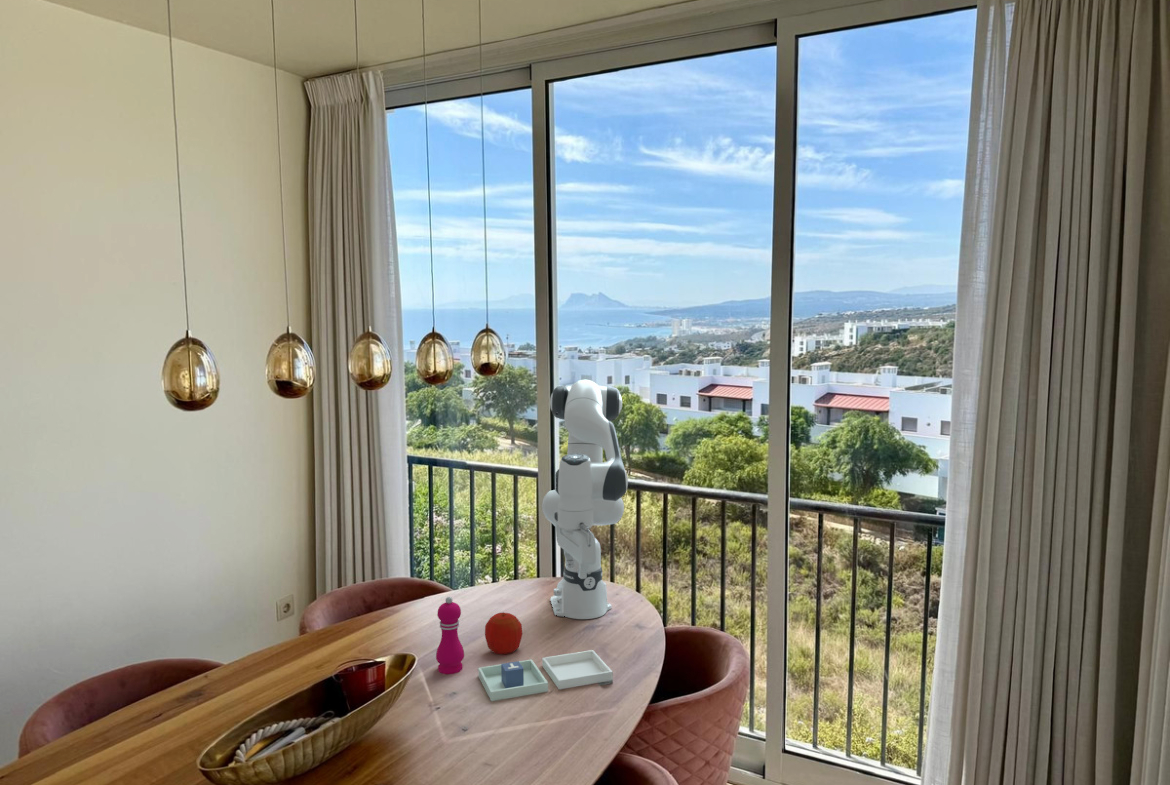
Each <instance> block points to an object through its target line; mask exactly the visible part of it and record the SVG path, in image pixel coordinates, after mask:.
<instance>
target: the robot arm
mask: <svg viewBox="0 0 1170 785" xmlns="http://www.w3.org/2000/svg"><path fill="white" fill-rule="evenodd" d="M549 407H550V410H551V413H552V415H553V416H554V418H556V419H560V420H564V426H565V429H566V430H567V432H568V438H567V454H566V455H563V456H562V457H561V458H560V462H559V468H558V469H557V471H556V472H555V475H554V476H555V489H553V490H549V491H547V492H546V494H544V496H543V499H542V503H541V509H542V514H543V515H544V517H545V520H547V521H548V522H550V523H551V524H552V525H553V527H555V535H556V536H555V537H556V542H557V545H558V547H560V548H561V549H562V550H563V555H564V558H565V566H564V569H563V576H562V579H561V580H560V581H559V582H558V583H557V585H556V588H553V596H551V597H550V598H549V602H550V601H551V602H550V604H552V605H551V608H552V607H553V608H552V610H553V614H554V616H556V615H557V617H564V616H565V617H564V618H569V619H573V620H574V619H575V620H589V619H592V620H593V619H596V618H600V617H602V616H604V615H605V614H606V613H607V612H608V611H609V610H611V609H612V604H611V603H609V602H608V591H607V583H606V582H605V581H603V574H604V573H603V567H602V566H601V562H602V555H601V553H602V552H601V544H600V542H599V540H598V539H597V538H596V537H595V535H594V533H593V532H592V531H591V528H592V527H593V526H608V525H615V524H617V523H618V522H619V521H620V520H621V519H622V517H623V516H624V512H625V504H624V500H623V497H624V495H626V494H627V490H628V485H629V482H628V481H629V479H628V474H627V471H626V469H625V466H624V463H623V462H624V461H623V458H622V454H621V449H620V443H619V439H618V435H617V431H616V428H615V426H614V423H613V422H612V421H615V420H616V419H617V418H618V417H619V416H620V413H621V411H622V408H623V399H622V395H621V393H620V390H619V389H618V388H616V387H614V386H610V385H609V386H608V385H607V386H604V385H598V384H597V383H596V382H594V381H593V380H591V379H579V380H577V381H576V382H574V383H573V384H572V385H566V384H563V385H559V386H556V387H555V388H554V389H553V390H552V393H551V395H550V398H549ZM603 451H604V453H605V454H604V453H603ZM603 454H604V455H605V458H606V461H604V460H603V456H604V455H603ZM603 461H604V462H603Z"/></svg>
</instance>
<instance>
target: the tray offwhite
mask: <svg viewBox="0 0 1170 785" xmlns="http://www.w3.org/2000/svg"><path fill="white" fill-rule="evenodd" d="M541 659H542V660H541V662H542V663H541V667H542V668H543V669H544V671H545V672H546V674H547V675H548V676H549V678H550V679H551V680H552V681H553V684H555V686H556V688H558V690H565V689H570V688H576V687H582V686H588V685H594V684H598V685H599V686H604V685H610V684H613V683H614V671H613V670H612V669H611V668H610V667H609V666H608V665H607V664H606V662H604V660H603V659H602V657H600V655H598V654H597V653H596V651H595V650H593V649H589V650H584V651H578V652H571V653H570V652H569V653H565V654H557V655H552V656H546V657H542V658H541Z"/></svg>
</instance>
